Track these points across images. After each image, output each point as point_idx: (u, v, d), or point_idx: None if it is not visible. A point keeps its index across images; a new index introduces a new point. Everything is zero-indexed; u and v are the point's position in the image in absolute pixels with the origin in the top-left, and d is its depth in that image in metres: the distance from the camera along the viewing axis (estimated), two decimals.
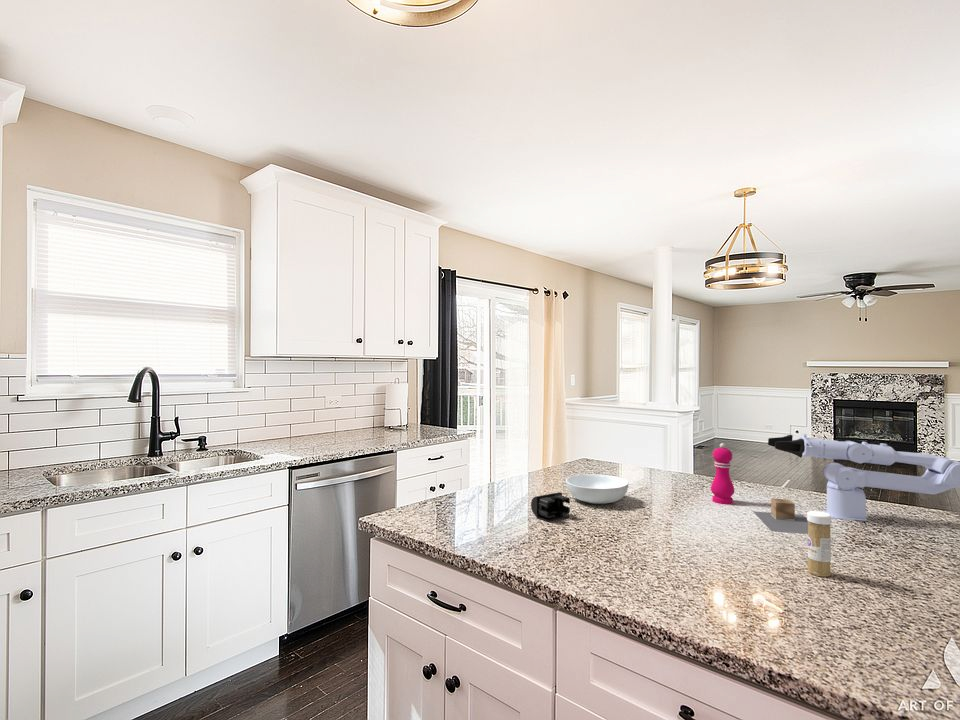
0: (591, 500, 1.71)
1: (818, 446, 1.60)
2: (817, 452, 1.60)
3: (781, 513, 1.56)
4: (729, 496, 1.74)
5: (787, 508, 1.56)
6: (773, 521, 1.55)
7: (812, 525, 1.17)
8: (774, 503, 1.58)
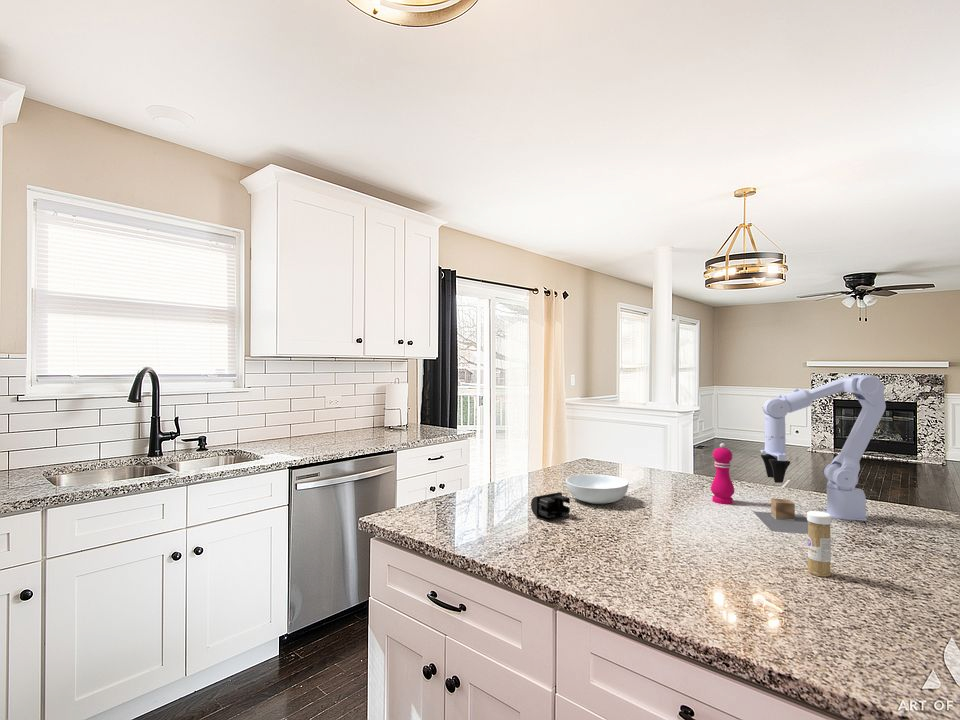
0: (591, 500, 1.71)
1: (774, 442, 1.64)
2: (781, 443, 1.64)
3: (781, 513, 1.56)
4: (729, 496, 1.74)
5: (787, 508, 1.56)
6: (773, 521, 1.55)
7: (812, 525, 1.17)
8: (774, 503, 1.58)
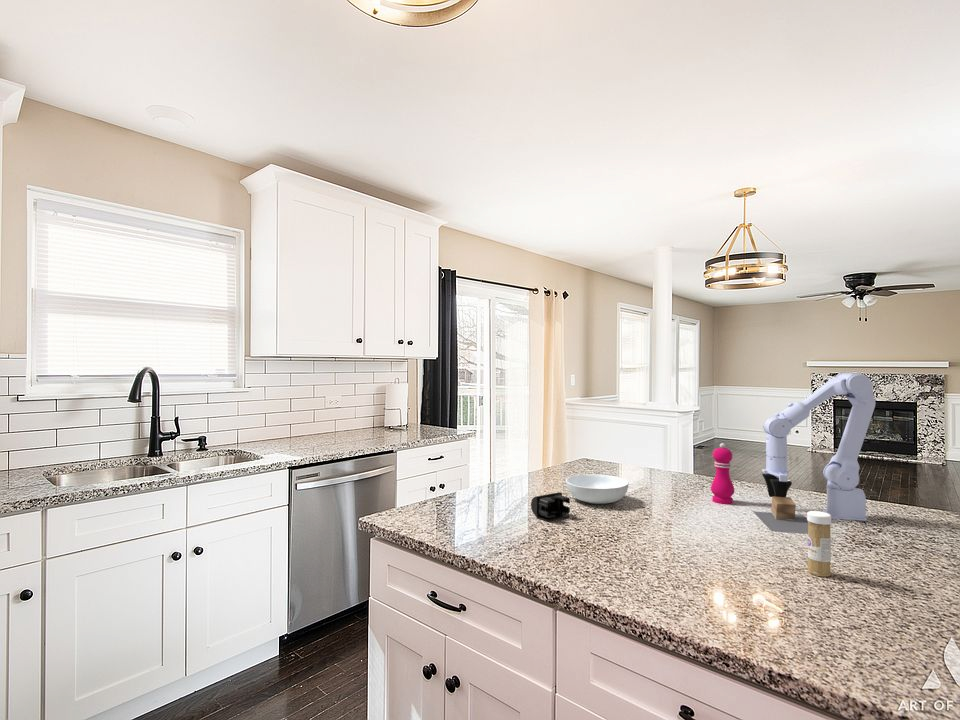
0: (591, 500, 1.71)
1: (776, 462, 1.62)
2: (782, 463, 1.62)
3: (781, 513, 1.56)
4: (729, 496, 1.74)
5: (788, 509, 1.56)
6: (773, 521, 1.55)
7: (812, 525, 1.17)
8: (775, 503, 1.58)
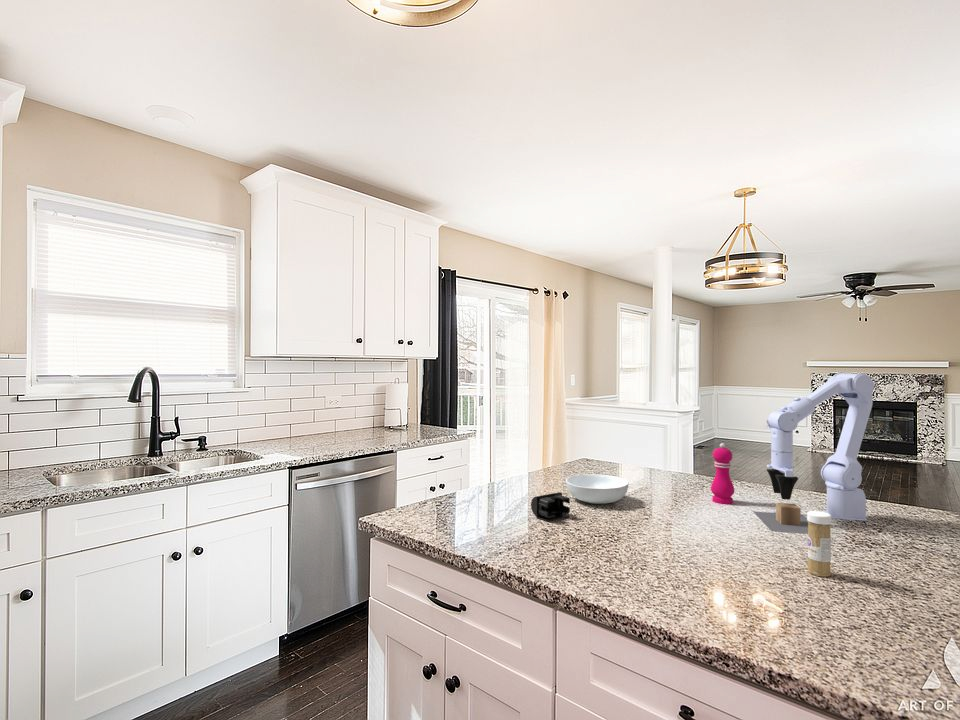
0: (591, 500, 1.71)
1: (781, 457, 1.57)
2: (788, 458, 1.57)
3: None
4: (729, 496, 1.74)
5: None
6: (773, 521, 1.55)
7: (812, 525, 1.17)
8: (780, 518, 1.53)
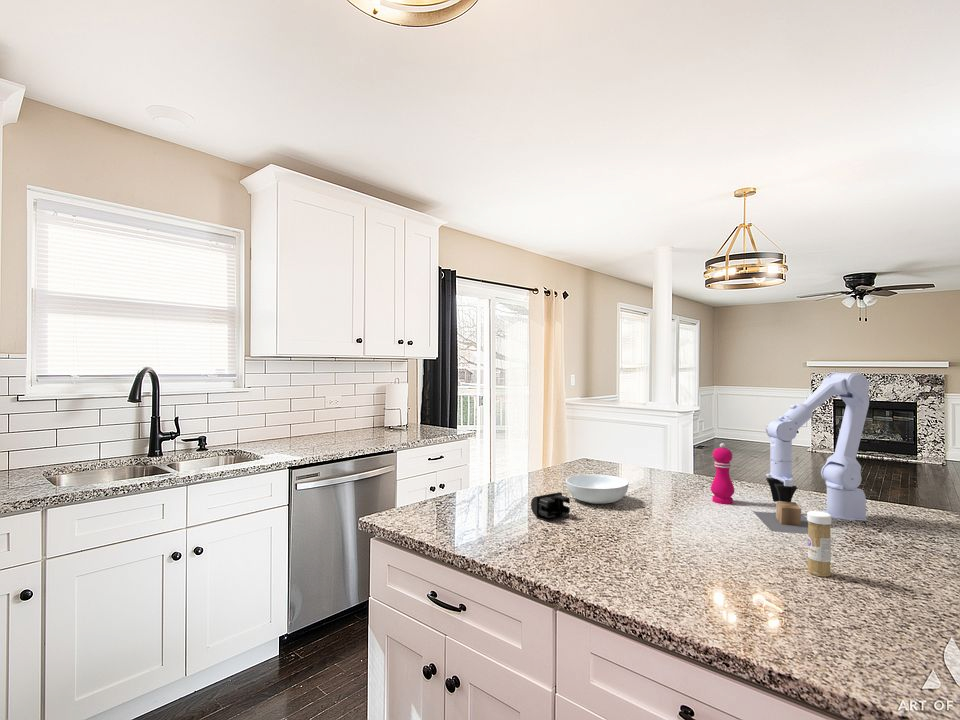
0: (591, 500, 1.71)
1: (780, 466, 1.58)
2: (787, 467, 1.58)
3: None
4: (729, 496, 1.74)
5: None
6: (773, 521, 1.55)
7: (812, 525, 1.17)
8: (780, 518, 1.52)
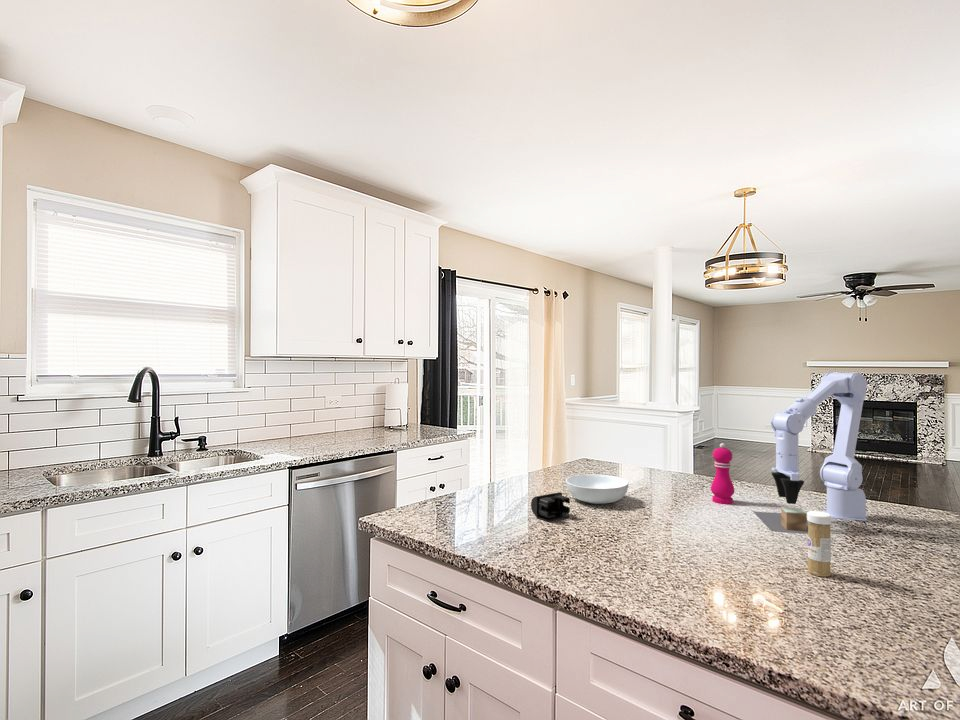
0: (591, 500, 1.71)
1: (787, 460, 1.52)
2: (794, 461, 1.52)
3: None
4: (729, 496, 1.74)
5: None
6: (773, 521, 1.55)
7: (812, 525, 1.17)
8: (782, 523, 1.51)
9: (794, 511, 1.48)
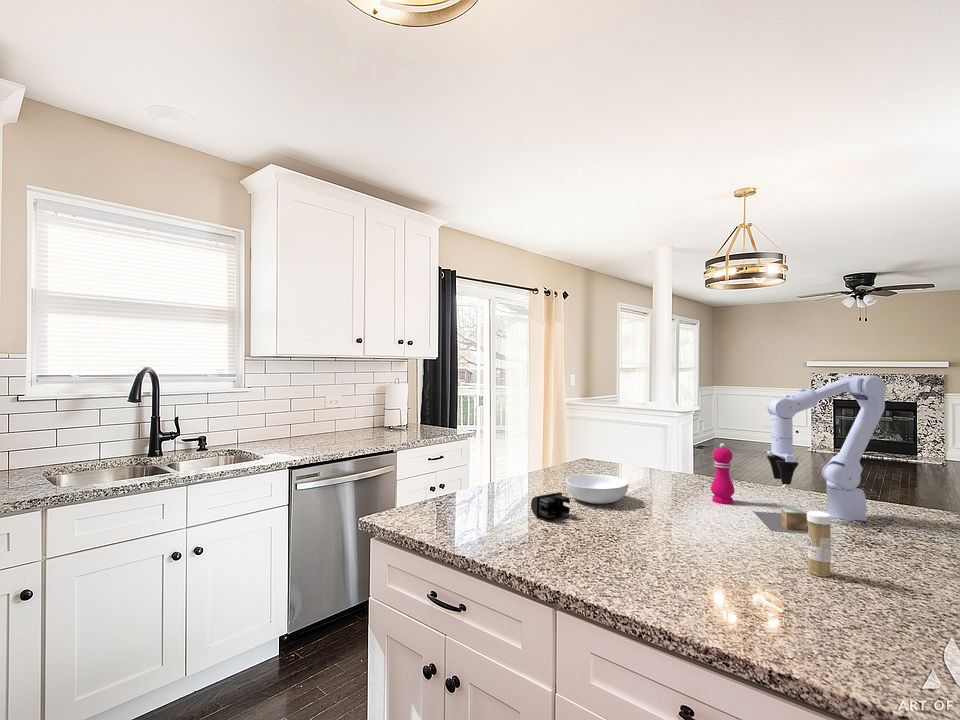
0: (591, 500, 1.71)
1: (782, 443, 1.60)
2: (788, 443, 1.60)
3: None
4: (729, 496, 1.74)
5: None
6: (773, 521, 1.55)
7: (812, 525, 1.17)
8: (782, 523, 1.51)
9: (794, 511, 1.48)
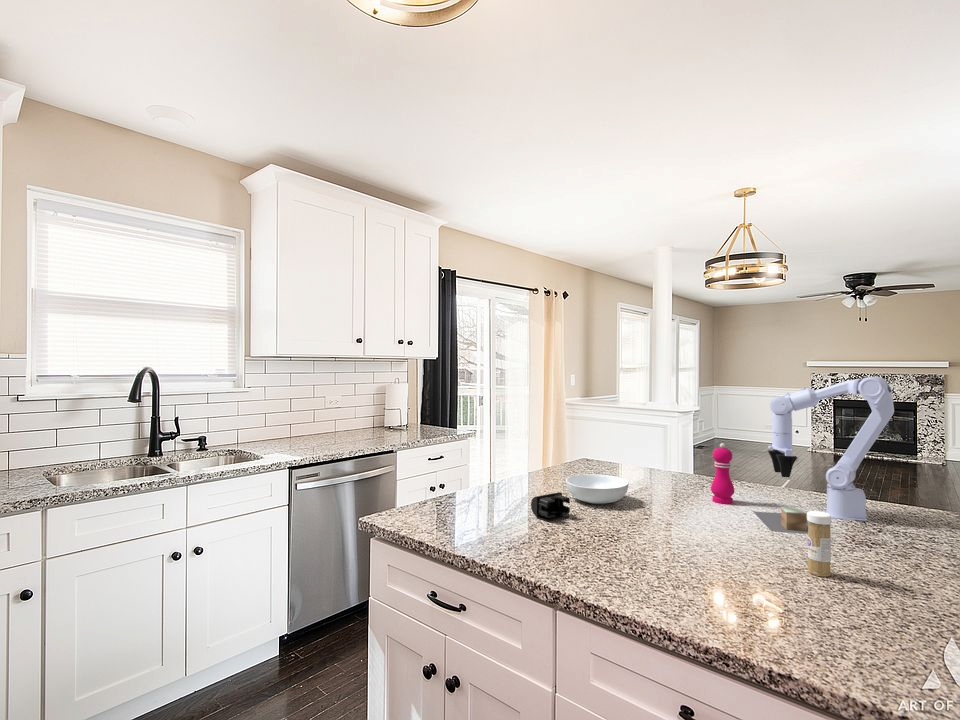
0: (591, 500, 1.71)
1: (782, 438, 1.70)
2: (788, 439, 1.70)
3: None
4: (729, 496, 1.74)
5: None
6: (773, 521, 1.55)
7: (812, 525, 1.17)
8: (782, 523, 1.51)
9: (794, 511, 1.48)
